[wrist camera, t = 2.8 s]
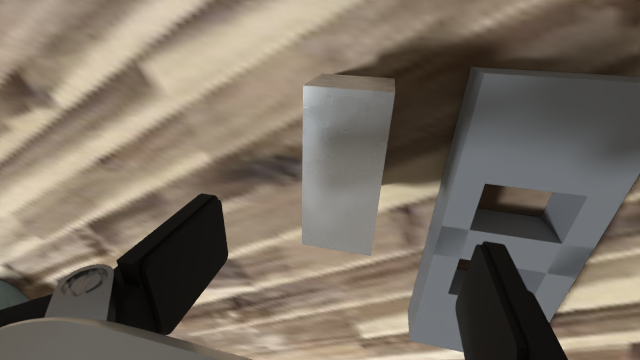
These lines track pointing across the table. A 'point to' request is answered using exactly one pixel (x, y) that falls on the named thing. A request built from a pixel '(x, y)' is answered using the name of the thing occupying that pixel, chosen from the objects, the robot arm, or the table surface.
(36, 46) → the table surface
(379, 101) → the grey concrete brick
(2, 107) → the table surface
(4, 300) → the teal cup
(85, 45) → the table surface
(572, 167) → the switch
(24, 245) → the table surface
